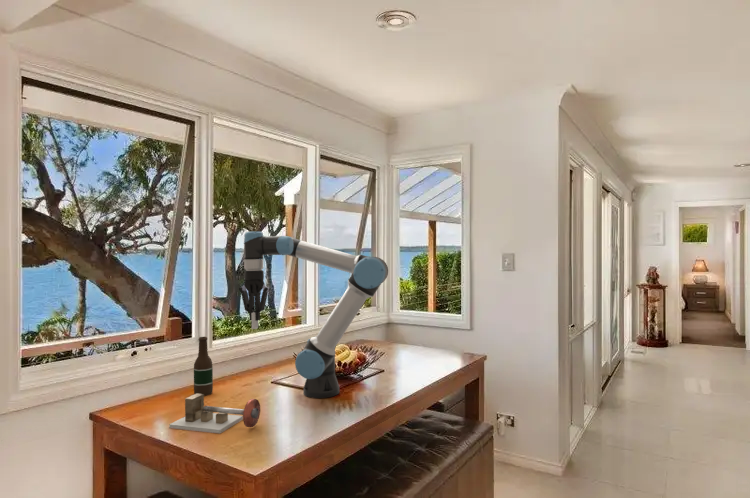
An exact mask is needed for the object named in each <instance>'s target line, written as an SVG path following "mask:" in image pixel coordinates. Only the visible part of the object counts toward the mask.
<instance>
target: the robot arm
mask: <svg viewBox="0 0 750 498" xmlns="http://www.w3.org/2000/svg"><path fill="white" fill-rule="evenodd" d="M243 253H244V255H243V257H244V260H243V261H244V262H243V264H244V270H245V271H244V283H243V285H242V286H239V287H238V290H239V292H240V293H241V294H240V295H241V298H242V304H243V306H244V310H245V311H246V312H248V313H249V321H251V330H257V329H258V328H259V321H260V319H261V316H260V315H261V312H262V311H265V309H266V303H267V299H268V294H269V292H270V290H271V287H270V286H267V285H265V284H266V283H265V282H264V279H265V277H264V274H265V272H264V270H263V269H264V266H265V265H264V256H290V257H293V258H297V259H301V260H305V261H308V262H311V263H315V264H319V265H321V266H324V267H327V268H332V269H336V270H338V271H339V270H340V271H342V272H345V273H348V274H351V275H350V276H349V279H348V280H347V284H348V286H347V288H346V290H345V292H344V293H343V295H342V296H341V297H340V299H339V301H338V302H337V304H336V305H335V307H334V308H333V310H332V311H331V313H330V315H329V316H328V318H327V319H326V321H325V322H324V324H323V325H322V327H321V328H320V330H319V332H318V333H317V334H316V336H312V337H310V338H308V339H307V341H306V344H305V345H304V347H303V349H302V350H301V351H300V352H299V353H298V354H297V356H296V358H295V362H294V363H295V365H294V366H295V369H296V371H297V374H299V375H300V376H301V377H302V378H304V379H305V382H304V385H303V393H302V394H303V396H305V397H308V398H313V399H325V398H332V397H336V396H337V395H339V393H340V385H339V382H338V378H337V376H336V346H337V345H338V344H339V342H340V340H341V339H342V337H343V336H344V334H345V333H346V331H347V330H348V328H349V326H350V325H351V324H352V322H353V320H354V319H355V318H356V316H357V315H358V313H359V311H360V310H361V309H362V307H363V305H364V304H365V302H366V300H367V299H368V298H373V297H374V295H375V294H376V292H377V291H378V289H379V288H380V287H381V285H382V283H385V281H386V279H387V277H388V275H389V268H388V267H389V266H388V265H387V262H385V260H384V259H382V258H380V257H378V256H368V255H363V254H358V255H355V254H350V253H347V252H343V251H340V250H337V249H333V248H329V247H326V246H323V245H319V244H315V243H311V242H308V241H305V240H300V239H297V238H296V237H295V238H294V237H292V236H288V235H277V236H275V235H270V236H265V235H264V233H263V232H262V231H246V232H245V233H244V237H243ZM261 291H262V293H261Z"/></svg>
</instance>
